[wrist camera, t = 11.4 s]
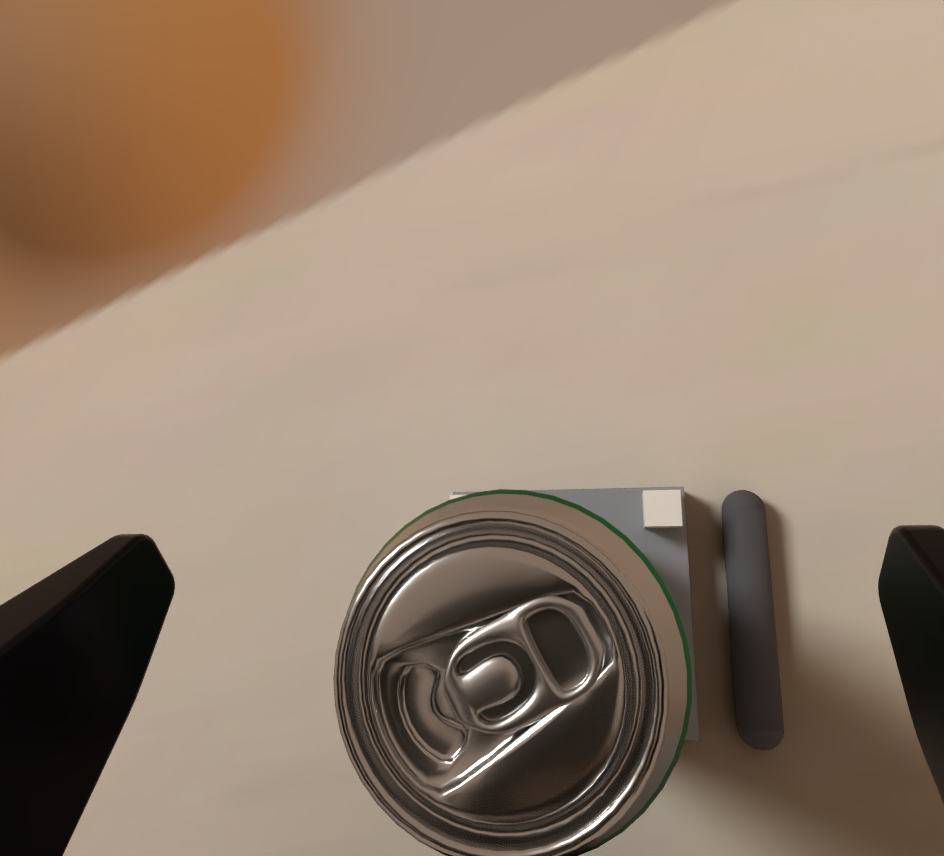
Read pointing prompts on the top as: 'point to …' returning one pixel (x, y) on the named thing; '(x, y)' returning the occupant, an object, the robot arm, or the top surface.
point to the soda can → (512, 678)
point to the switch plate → (649, 544)
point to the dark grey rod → (752, 621)
